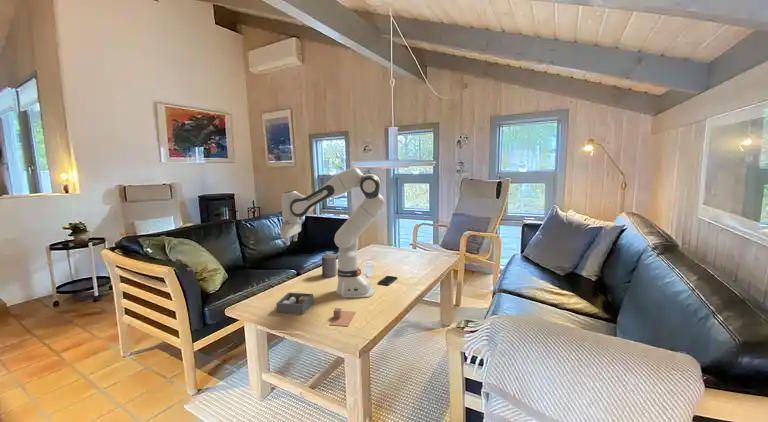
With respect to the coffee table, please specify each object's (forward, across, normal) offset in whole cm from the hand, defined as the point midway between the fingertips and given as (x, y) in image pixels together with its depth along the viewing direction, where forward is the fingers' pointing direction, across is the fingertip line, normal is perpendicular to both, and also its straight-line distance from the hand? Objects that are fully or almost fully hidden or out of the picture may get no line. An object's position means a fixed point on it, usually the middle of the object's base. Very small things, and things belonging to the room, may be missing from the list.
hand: (291, 242), depth 192 cm
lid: (+30, -29, -36) cm, 55 cm away
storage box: (+29, -22, -11) cm, 38 cm away
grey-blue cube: (+29, -25, -8) cm, 39 cm away
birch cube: (+29, -19, -14) cm, 37 cm away
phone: (+30, +24, -52) cm, 65 cm away
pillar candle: (+29, +29, -12) cm, 43 cm away
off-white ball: (+29, -19, -8) cm, 35 cm away
